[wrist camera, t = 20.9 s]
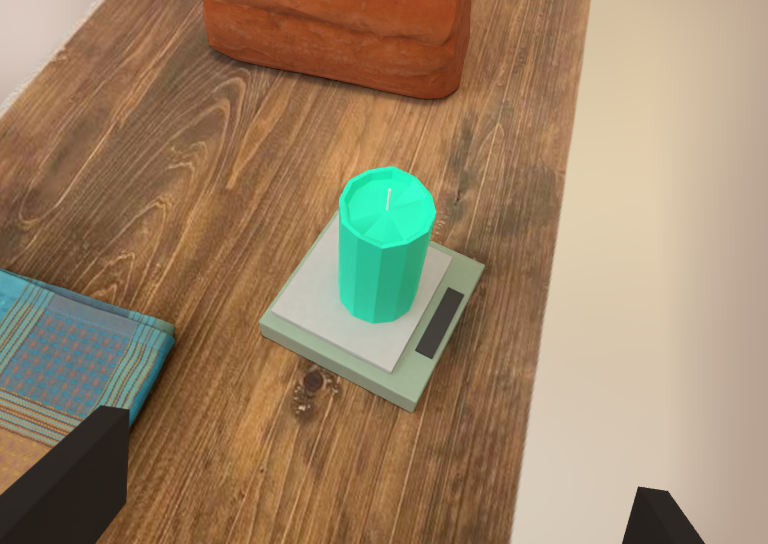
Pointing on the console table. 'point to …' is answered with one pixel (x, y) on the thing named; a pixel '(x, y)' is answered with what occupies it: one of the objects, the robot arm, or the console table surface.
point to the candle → (382, 242)
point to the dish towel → (67, 365)
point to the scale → (366, 340)
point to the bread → (349, 40)
